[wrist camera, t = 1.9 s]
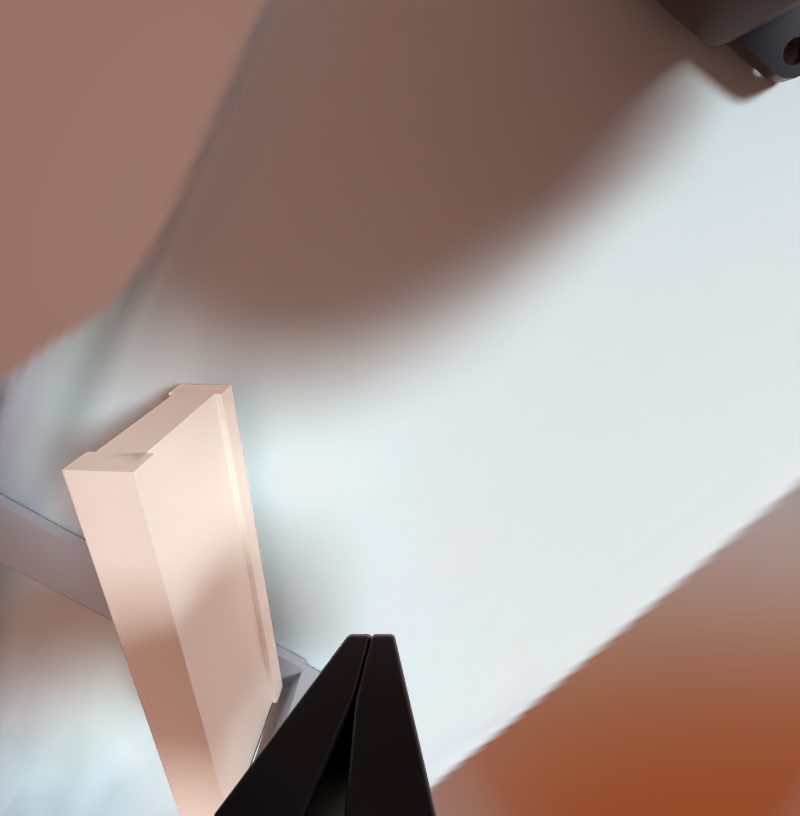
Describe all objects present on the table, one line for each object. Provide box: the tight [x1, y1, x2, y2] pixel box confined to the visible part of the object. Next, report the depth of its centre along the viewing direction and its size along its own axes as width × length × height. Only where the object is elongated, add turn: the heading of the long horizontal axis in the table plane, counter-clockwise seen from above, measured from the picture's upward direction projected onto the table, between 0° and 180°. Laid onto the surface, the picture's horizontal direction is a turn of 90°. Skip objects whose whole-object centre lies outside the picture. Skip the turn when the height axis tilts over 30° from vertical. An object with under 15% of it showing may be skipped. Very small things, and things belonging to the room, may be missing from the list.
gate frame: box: [0, 494, 320, 759], centre depth 17 cm, size 3×19×7 cm, turn 56°
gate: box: [62, 384, 283, 816], centre depth 16 cm, size 2×14×5 cm, turn 1°
